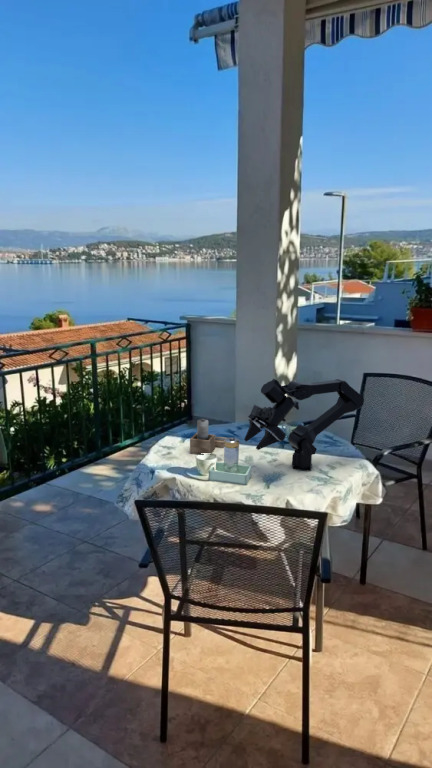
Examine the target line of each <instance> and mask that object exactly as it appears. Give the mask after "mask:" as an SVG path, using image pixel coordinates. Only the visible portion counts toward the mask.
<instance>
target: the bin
mask: <svg viewBox="0 0 432 768" xmlns="http://www.w3.org/2000/svg"><path fill="white" fill-rule="evenodd" d="M196 421H197V422H196V426H197V427H196V428H197V429H196V430H197V431H196V433H195V434H193V436H191V438H189V454H190V455H198V454H201V453H211V454H213V452H214V451H215V450H216V447H215V437H216V434H211V433H210V434H209V420H208V419H205V418H200V419H198V420H196Z"/></svg>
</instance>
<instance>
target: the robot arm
mask: <svg viewBox="0 0 432 768" xmlns="http://www.w3.org/2000/svg"><path fill="white" fill-rule="evenodd" d="M260 393H261V395H263V396H264V397H265V398H266V399H267V400H268V401H269V402H270V403H271V404H273V405H272V407H271V406H268V407H266V406H264V407H261V406H260V405H257V404H254V405H253V406H252V409H251V411H250V414H249V415H248V416H247V417H248V421H249V422H248V423H249V427H248V430H247V432H246V435H245V437H244V438H243V441H245V442H248V441H249V440H251V439H253V438H254V437H255V436H257V435H258V434H259V433H261V432H262V431H263V430H262V429H264V435H263V437H262V438H261V440H260V441H259V442H258V444H257V445H256V447H255V449H256V450H257V451H260V450H262V449H263V448H266V447H269V446H271V445H273V444H275V443H280V442H283V441H284V440H285V439H287V438H286V437H287V434H286V433H285V431H283V430H282V428H280V427H279V425H280V424H281V423H282V422H283V423H285V422H286V417H287V416H288V415H289V413H290V412H291V411H292V410H293V409H294V410H296V411H299V409H300V406H299V402H298V401H303V400H306V399H307V400H308V399H309V398H311V397H312V396H316V395H320V394H330V393H337V395H338V398H337V400H336V403H335V404H334V405H333V406H332V407H330V408H329V409H327V410H326V411H325V412H324V413H322V414H321V415H319V416H318V417H317V418H316V419H315V420H313V421H312V422H311V423H309V424H308V425H306V426H304V425H302V424H298V425H297V426H296V427H295V428H293V429H292V430H291V432H290V433H289V434H288V443H289V445H290V446H291V448H292V449H293V450H294V452H293V453H292V459H291V461H292V462H291V465H292V469H293V470H298V469H305V470H304V471H307V470H312V467H311V466H312V465H313V463H312V462H313V455H316V452H317V447H315V445H313V444H314V442H315V440H316V437H317V436H318V435H320V434H321V433H322V432H324V431H325V430H326V429H327V428H328V427H330V426H331V425H333V423H335V422H336V421H338V420H339V419H340V418H342V416H344V415H345V414H348V413H353V412H355V411H357V410H359V409H361V408H363V406H364V402H365V398H364V395H363V394H362V393H359V392H358V391H357V390H355V389H354V388H353V387H352V386H351V385H350V384H349V383H348V382H347V381H346V380H343V379H340V378H339V379H338V378H337V379H332V380H323V381H315V382H306V381H300V380H297V381H296V380H293V381H292V380H291V381H290V382H289V383H288V384H284V385H282V384H280V382H279V381H278V380H277V379H275V378H272V380H270V381H268V382H266V383H264V384H263V385H262V386H261V388H260ZM293 399H295V400H293ZM296 400H298V401H296Z"/></svg>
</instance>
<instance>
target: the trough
mask: <svg viewBox="0 0 432 768" xmlns="http://www.w3.org/2000/svg"><path fill="white" fill-rule="evenodd" d="M215 462H216V470H217V471H214V467H212V466H211V467H210V469H208V481H210V482H211V481H212V482H218V483H227V484H228V483H229V484H234V485H241V486H242V485H243V486H247V485H248V482H249V481H250V479H251V477H252V475H253V473H252V472H253V471H252V470H253V466H252V465H246V464H239V463H238V474H237V473H228V472H224V462H223V461H221V462H220V461H215Z"/></svg>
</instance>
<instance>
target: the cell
mask: <svg viewBox="0 0 432 768" xmlns="http://www.w3.org/2000/svg"><path fill="white" fill-rule="evenodd" d="M226 438H227V439H225V440H224V448H223V449H224V451H223V453H224V455H223V456H224V457H223V463H224V472H228V473H237V474H238V464H239V459H240V457H239V455H240V454H239V453H240V439H239V438H236V437H233V436H231V437H226Z"/></svg>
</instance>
